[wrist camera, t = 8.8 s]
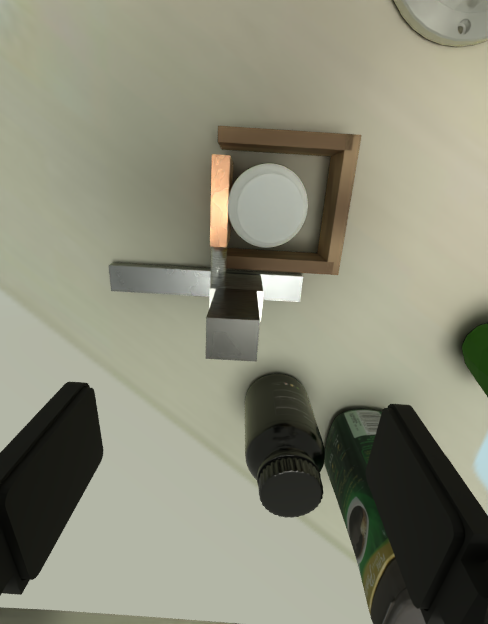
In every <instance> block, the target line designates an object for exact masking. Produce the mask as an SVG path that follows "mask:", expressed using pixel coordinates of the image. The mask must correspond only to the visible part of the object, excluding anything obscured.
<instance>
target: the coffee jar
mask: <svg viewBox="0 0 488 624" xmlns="http://www.w3.org/2000/svg"><path fill="white" fill-rule="evenodd" d="M381 414H382V412H381V411H376V410H370V409H355V410H349V411H346V412H344V413H342V414H340V415H338V416H337V417H336V418H335V420H334V421H333V423H332V426H331V428H330V431H329V434H328V437H327V442H326V447H325V466H326V469H327V472H328V476H329V478H330V481H331V484H332V487H333V490H334V492H335V495H336V498H337V501H338V504H339V507H340V510H341V513H342V516H343V519H344V522H345V525H346V528H347V531H348V534H349V537H350V540H351V543H352V546H353V549H354V553H355V556H356V560H357V563H358V567H359V570H360V574H361V578H362V583H363V587H364V591H365V595H366V600H367V604H368V608H369V612H370V615H371V619H372V622H373V624H426V623H425V620H424V618H423V615H422V613H421V610H420V609H418V608H416V607H415V606H414V605H413V603H412V601H411V599H410V596H409V593H408V590H407V588H406V585H405V582H404V580H403V577H402V574H401V572H400V569H399V566H398V563H397V561H396V558H395V555H394V553H393V550H392V547H391V545H390V542H389V539H388V536H387V534H386V531H385V528H384V526H383V523H382V520H381V518H380V515H379V512H378V509H377V507H376V504H375V501H374V499H373V496H372V493H371V491H370V488H369V485H368V482H367V479H366V467H367V463H368V460H369V456H370V453H371V449H372V446H373V442H374V438H375V435H376V431H377V428H378V424H379V421H380V417H381Z"/></svg>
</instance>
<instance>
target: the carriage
mask: <svg viewBox="0 0 488 624" xmlns="http://www.w3.org/2000/svg"><path fill="white" fill-rule="evenodd" d="M233 165H234V163H233V161H232V159H231V157H230V155H215V154H212V167H211V218H210V246H211V273H210V292H209V311H208V314H207V317H206V359H223V360H241V361H257V349H258V337H259V325H260V322H261V316H262V304H263V285H262V279H261V275H246V274H230V273H226V263H227V245H228V242H229V240H230V236H231V222H230V219H229V215H228V198H229V194H230V191H231V189H232V186H233Z"/></svg>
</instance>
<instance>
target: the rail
mask: <svg viewBox="0 0 488 624" xmlns="http://www.w3.org/2000/svg"><path fill="white" fill-rule="evenodd" d="M109 273H110V284H111V291H122V292H139V293H156V294H173V295H190V296H207V297H209V292H210V273H211V268H198V267H181V266H164V265H147V264H131V263H112V264H110V265H109ZM226 273H230V274H246V275H261V279H262V285H263V300H275V301H292V302H300V298H301V290H302V282H303V276H302V274H298V273H282V272H265V271H248V270H231V269H226Z"/></svg>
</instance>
